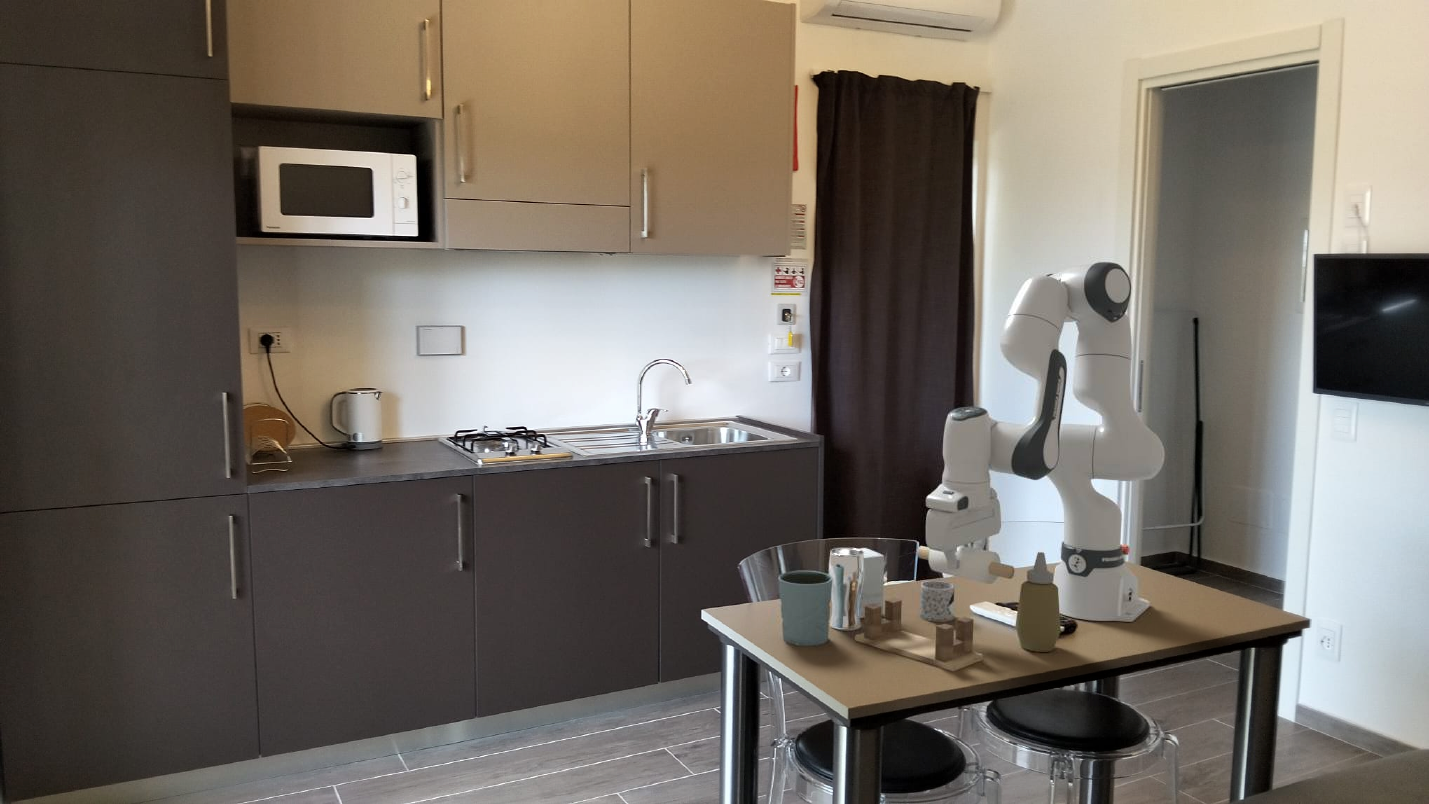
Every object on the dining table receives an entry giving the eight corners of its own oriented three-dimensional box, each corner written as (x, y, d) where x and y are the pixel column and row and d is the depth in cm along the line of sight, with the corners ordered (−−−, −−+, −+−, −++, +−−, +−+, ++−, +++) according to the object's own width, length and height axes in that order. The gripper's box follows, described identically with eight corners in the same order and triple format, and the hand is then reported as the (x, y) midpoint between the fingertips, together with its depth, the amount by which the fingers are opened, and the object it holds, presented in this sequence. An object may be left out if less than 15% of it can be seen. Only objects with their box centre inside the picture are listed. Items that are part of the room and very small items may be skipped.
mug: (956, 622, 211) (957, 589, 211) (923, 621, 211) (924, 589, 211) (945, 607, 221) (946, 576, 221) (913, 607, 221) (914, 576, 221)
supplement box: (864, 606, 222) (866, 547, 221) (883, 615, 215) (885, 555, 214) (834, 609, 219) (835, 550, 218) (852, 619, 212) (854, 558, 211)
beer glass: (842, 633, 203) (844, 557, 202) (820, 623, 209) (822, 549, 208) (870, 627, 207) (872, 553, 205) (847, 618, 213) (849, 545, 211)
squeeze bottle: (1025, 637, 202) (1028, 545, 200) (1066, 647, 197) (1070, 552, 195) (1007, 648, 196) (1011, 553, 194) (1049, 658, 190) (1053, 560, 189)
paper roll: (911, 569, 206) (911, 540, 205) (929, 563, 210) (929, 534, 209) (1001, 591, 192) (1002, 560, 191) (1019, 584, 196) (1019, 553, 195)
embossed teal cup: (842, 641, 199) (843, 579, 197) (800, 651, 193) (802, 586, 192) (807, 627, 207) (808, 567, 206) (766, 636, 201) (767, 574, 200)
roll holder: (854, 640, 199) (855, 604, 198) (884, 630, 205) (885, 595, 205) (953, 671, 183) (954, 631, 182) (982, 659, 189) (983, 621, 188)
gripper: (982, 483, 208) (980, 551, 210) (920, 499, 194) (919, 572, 196) (1010, 487, 203) (1008, 557, 205) (949, 505, 190) (947, 579, 191)
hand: (964, 565), depth 200 cm, fingers closed on paper roll, 6 cm apart
